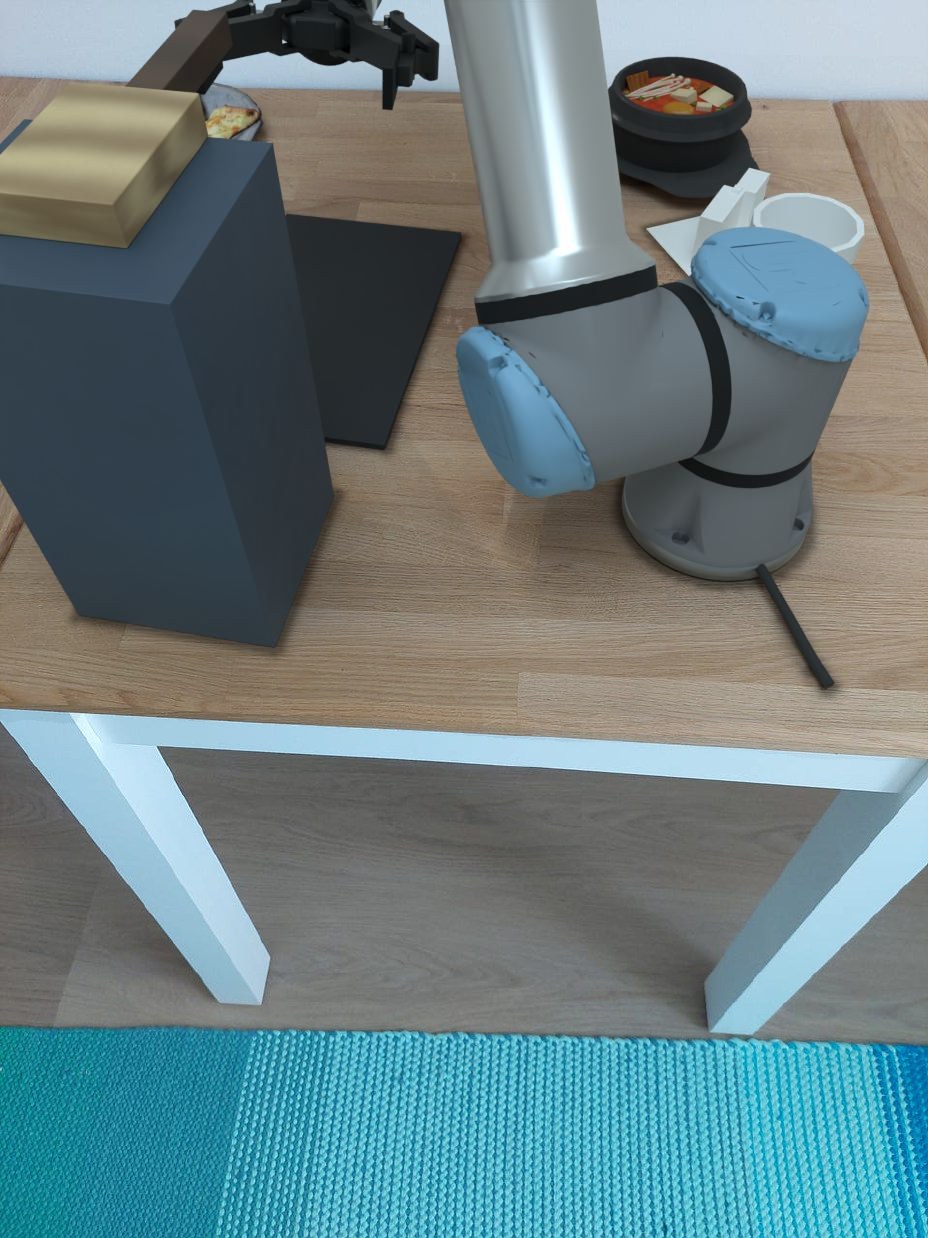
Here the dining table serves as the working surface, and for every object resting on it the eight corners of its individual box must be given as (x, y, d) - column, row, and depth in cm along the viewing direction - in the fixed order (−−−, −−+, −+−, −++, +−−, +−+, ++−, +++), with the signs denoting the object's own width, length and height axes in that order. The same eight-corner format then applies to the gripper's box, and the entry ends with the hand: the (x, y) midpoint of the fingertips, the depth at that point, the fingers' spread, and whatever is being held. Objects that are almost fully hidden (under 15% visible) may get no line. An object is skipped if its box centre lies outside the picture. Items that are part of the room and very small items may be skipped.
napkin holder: (697, 285, 96) (708, 234, 92) (644, 228, 103) (652, 178, 98) (819, 253, 100) (836, 202, 95) (761, 200, 106) (774, 150, 101)
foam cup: (819, 384, 87) (866, 258, 77) (719, 372, 88) (752, 246, 78) (817, 322, 93) (861, 197, 82) (723, 311, 94) (754, 187, 83)
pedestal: (158, 470, 81) (24, 118, 57) (334, 495, 79) (273, 142, 55) (77, 614, 72) (-123, 268, 48) (275, 647, 70) (170, 303, 46)
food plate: (208, 78, 125) (202, 49, 122) (300, 147, 114) (295, 118, 111) (30, 136, 116) (19, 107, 113) (110, 217, 105) (100, 187, 102)
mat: (287, 218, 105) (286, 213, 104) (461, 236, 102) (461, 231, 102) (172, 420, 85) (170, 415, 84) (384, 450, 83) (384, 445, 82)
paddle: (160, 38, 63) (150, -3, 61) (272, 47, 62) (266, 6, 60) (-13, 233, 50) (-34, 188, 48) (127, 249, 49) (112, 204, 47)
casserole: (549, 128, 116) (554, 55, 109) (676, 97, 121) (688, 25, 114) (656, 229, 103) (669, 154, 96) (794, 190, 107) (816, 115, 100)
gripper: (469, 66, 84) (462, 150, 70) (193, 42, 84) (126, 123, 69) (475, -33, 79) (470, 36, 64) (180, -59, 78) (105, 5, 64)
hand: (292, 81), depth 67 cm, fingers open, 13 cm apart
